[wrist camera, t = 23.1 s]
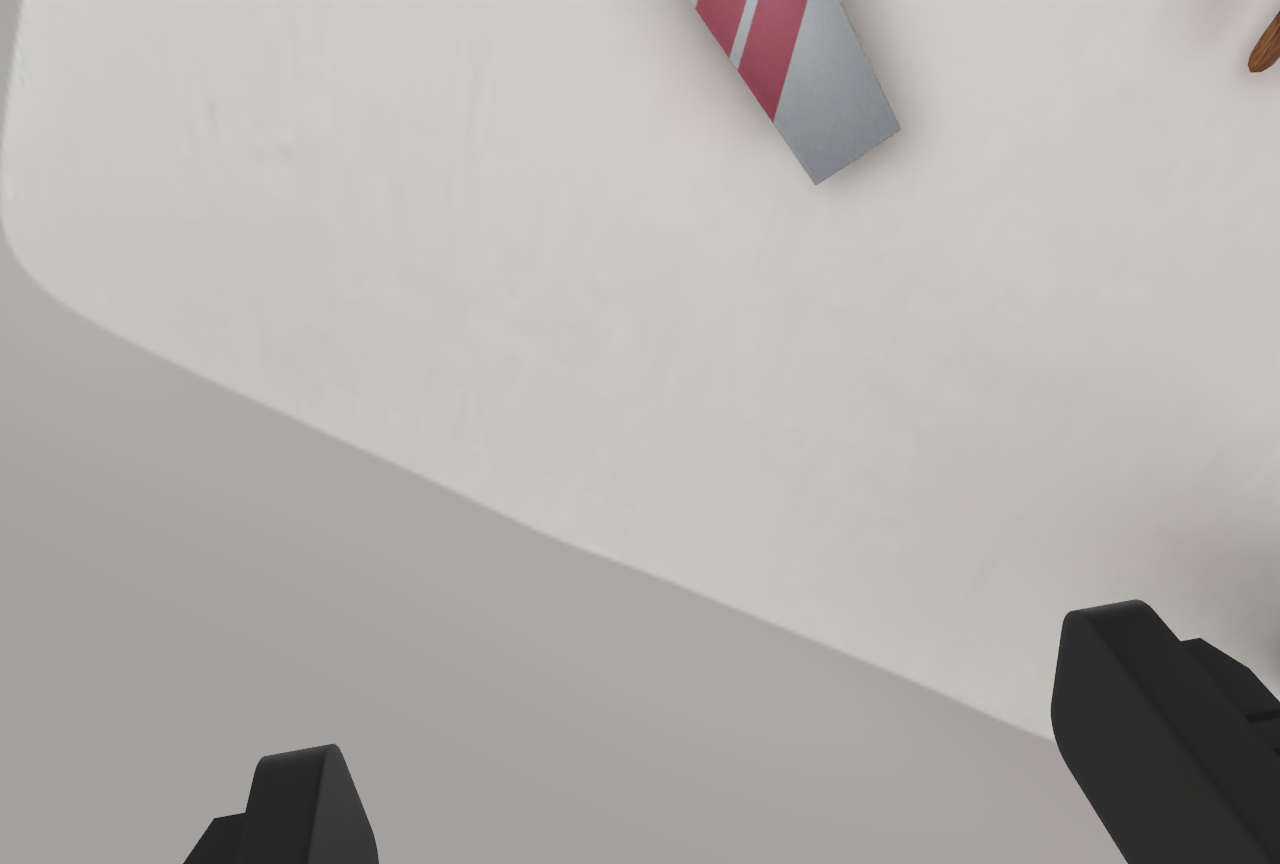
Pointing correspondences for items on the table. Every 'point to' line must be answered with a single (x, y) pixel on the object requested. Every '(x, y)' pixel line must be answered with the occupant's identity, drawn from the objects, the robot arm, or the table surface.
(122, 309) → the table surface
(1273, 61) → the brown animal figurine
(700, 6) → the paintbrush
